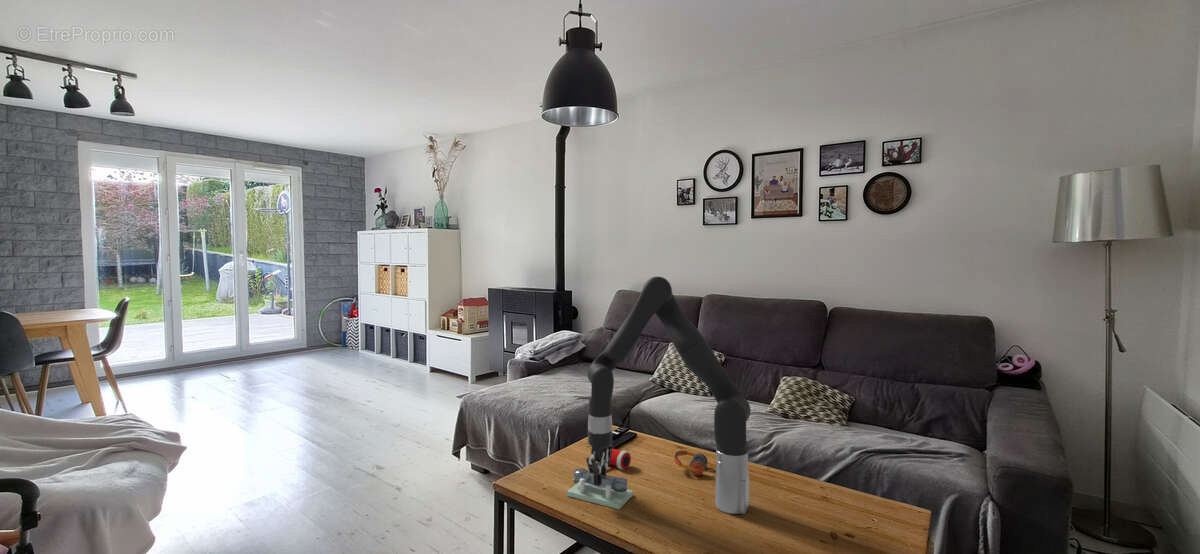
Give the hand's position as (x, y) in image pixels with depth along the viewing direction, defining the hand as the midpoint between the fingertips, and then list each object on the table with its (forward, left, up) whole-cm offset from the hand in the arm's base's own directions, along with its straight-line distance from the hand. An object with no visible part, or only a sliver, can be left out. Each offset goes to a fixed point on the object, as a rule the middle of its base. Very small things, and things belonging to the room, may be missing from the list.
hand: (599, 482), depth 160 cm
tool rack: (0, 0, -4) cm, 4 cm away
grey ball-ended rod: (0, 0, -1) cm, 1 cm away
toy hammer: (+8, -17, -5) cm, 19 cm away
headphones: (-24, -32, -5) cm, 40 cm away
